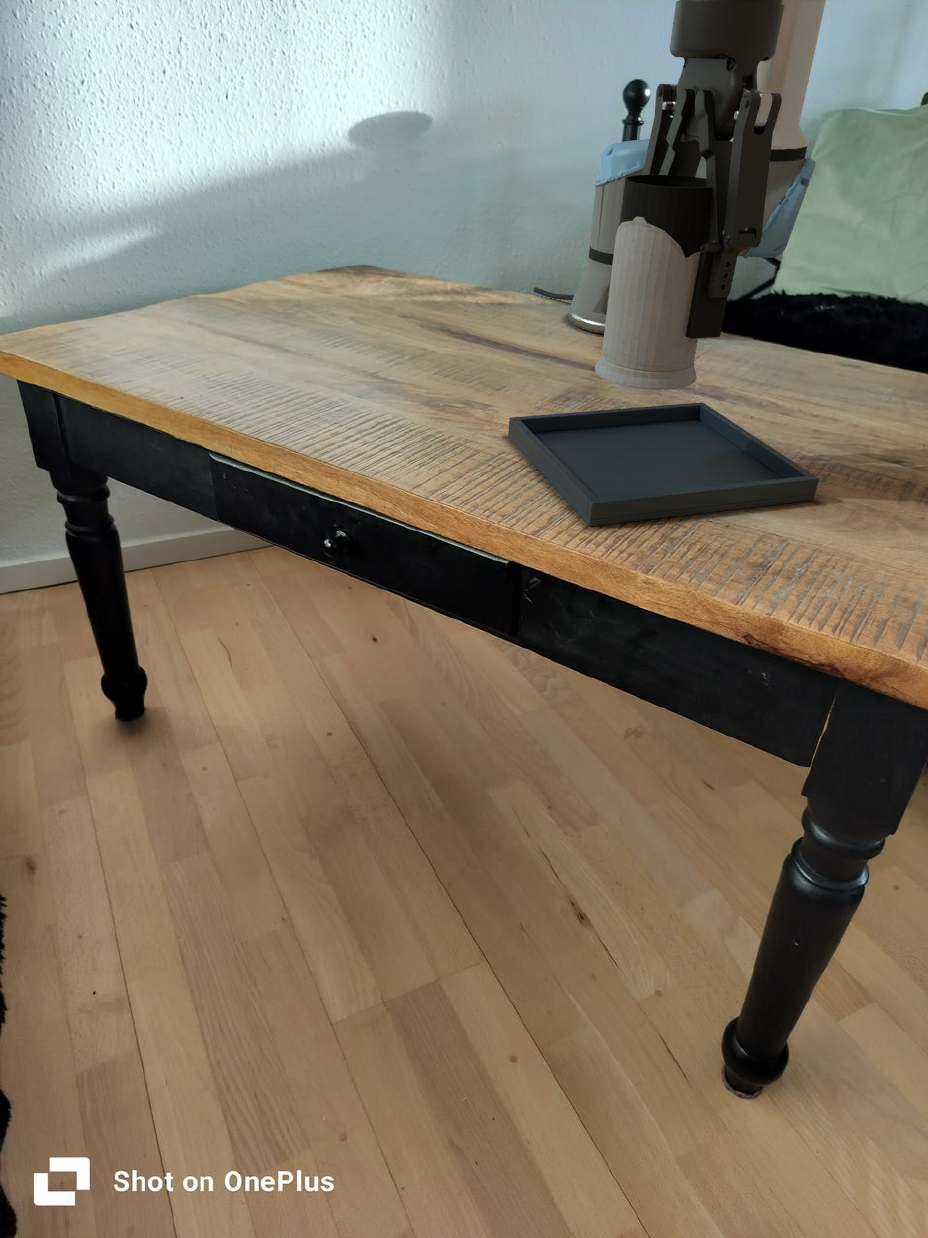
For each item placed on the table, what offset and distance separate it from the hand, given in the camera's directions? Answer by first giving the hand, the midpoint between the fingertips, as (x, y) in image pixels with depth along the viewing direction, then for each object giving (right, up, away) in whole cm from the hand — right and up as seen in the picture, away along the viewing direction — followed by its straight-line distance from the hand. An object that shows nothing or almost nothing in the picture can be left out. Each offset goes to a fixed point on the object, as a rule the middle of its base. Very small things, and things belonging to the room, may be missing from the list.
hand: (675, 321), depth 74 cm
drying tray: (-1, -11, +7) cm, 13 cm away
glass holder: (0, -3, +3) cm, 4 cm away
